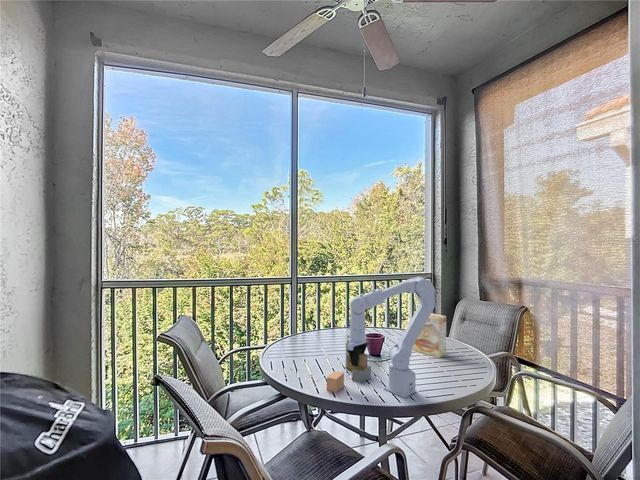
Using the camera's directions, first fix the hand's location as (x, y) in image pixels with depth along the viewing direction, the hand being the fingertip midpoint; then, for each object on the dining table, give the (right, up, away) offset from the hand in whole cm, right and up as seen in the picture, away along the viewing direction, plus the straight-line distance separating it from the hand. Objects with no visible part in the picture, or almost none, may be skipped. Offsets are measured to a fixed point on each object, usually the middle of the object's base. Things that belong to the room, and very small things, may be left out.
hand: (357, 363), depth 130 cm
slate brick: (+3, -10, +9) cm, 14 cm away
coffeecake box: (+41, -10, +41) cm, 59 cm away
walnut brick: (0, -2, 0) cm, 2 cm away
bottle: (+1, -10, +21) cm, 23 cm away
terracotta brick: (-8, -10, +1) cm, 13 cm away
